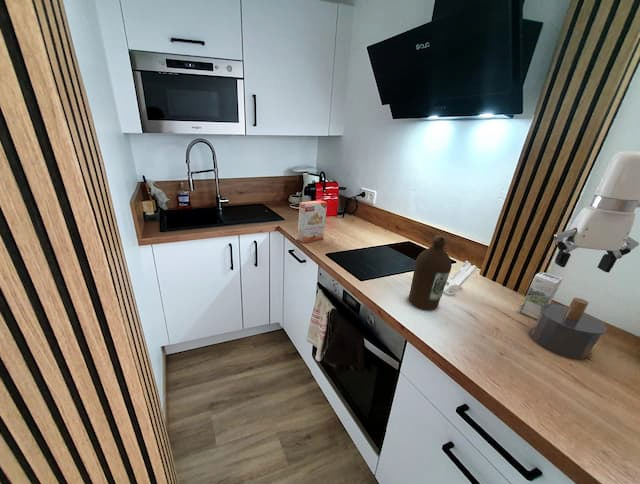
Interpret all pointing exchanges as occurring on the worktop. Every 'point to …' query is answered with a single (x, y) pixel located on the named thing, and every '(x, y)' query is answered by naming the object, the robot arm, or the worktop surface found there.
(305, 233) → the cracker box
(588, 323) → the tin lid
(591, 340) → the tin
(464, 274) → the plastic part
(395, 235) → the worktop surface
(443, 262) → the brown bottle
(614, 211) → the robot arm
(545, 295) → the syrup box
